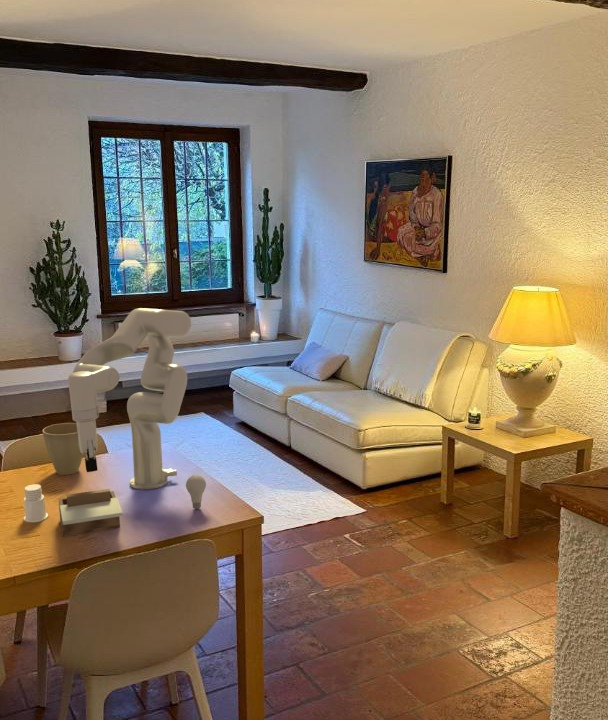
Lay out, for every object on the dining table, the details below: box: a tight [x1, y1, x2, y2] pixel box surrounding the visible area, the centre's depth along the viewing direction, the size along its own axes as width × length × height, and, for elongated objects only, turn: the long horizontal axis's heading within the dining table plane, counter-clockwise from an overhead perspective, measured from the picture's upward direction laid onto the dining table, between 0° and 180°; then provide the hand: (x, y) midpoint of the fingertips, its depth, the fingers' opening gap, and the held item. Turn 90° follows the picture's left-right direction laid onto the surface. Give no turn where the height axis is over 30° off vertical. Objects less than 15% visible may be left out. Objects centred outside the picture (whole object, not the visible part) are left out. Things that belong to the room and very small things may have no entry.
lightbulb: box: [185, 474, 207, 510], centre depth 229 cm, size 6×6×11 cm
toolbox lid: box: [60, 488, 124, 525], centre depth 210 cm, size 16×12×4 cm
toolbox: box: [58, 490, 121, 538], centre depth 219 cm, size 16×12×7 cm
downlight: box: [23, 483, 49, 523], centre depth 223 cm, size 8×7×10 cm
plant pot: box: [42, 422, 84, 476], centre depth 262 cm, size 15×15×16 cm
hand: (91, 470), depth 224 cm, fingers closed
